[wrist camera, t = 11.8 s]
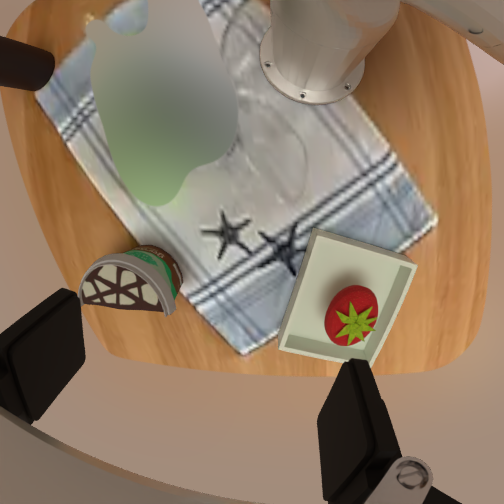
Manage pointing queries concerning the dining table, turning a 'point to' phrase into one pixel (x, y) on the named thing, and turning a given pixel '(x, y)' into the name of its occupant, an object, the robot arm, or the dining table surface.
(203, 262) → the dining table surface
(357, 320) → the strawberry
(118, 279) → the food container
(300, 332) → the serving tray
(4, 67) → the bottle
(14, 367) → the robot arm
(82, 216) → the dining table surface
